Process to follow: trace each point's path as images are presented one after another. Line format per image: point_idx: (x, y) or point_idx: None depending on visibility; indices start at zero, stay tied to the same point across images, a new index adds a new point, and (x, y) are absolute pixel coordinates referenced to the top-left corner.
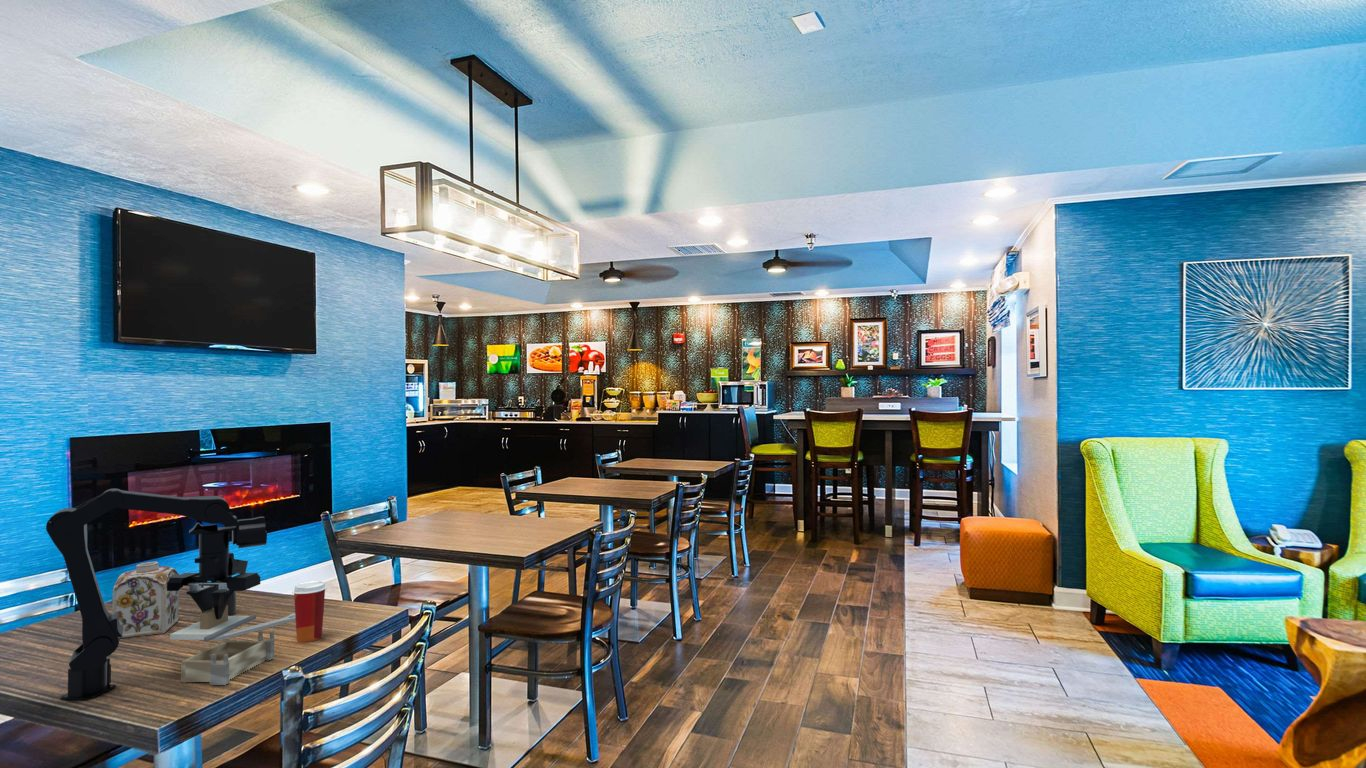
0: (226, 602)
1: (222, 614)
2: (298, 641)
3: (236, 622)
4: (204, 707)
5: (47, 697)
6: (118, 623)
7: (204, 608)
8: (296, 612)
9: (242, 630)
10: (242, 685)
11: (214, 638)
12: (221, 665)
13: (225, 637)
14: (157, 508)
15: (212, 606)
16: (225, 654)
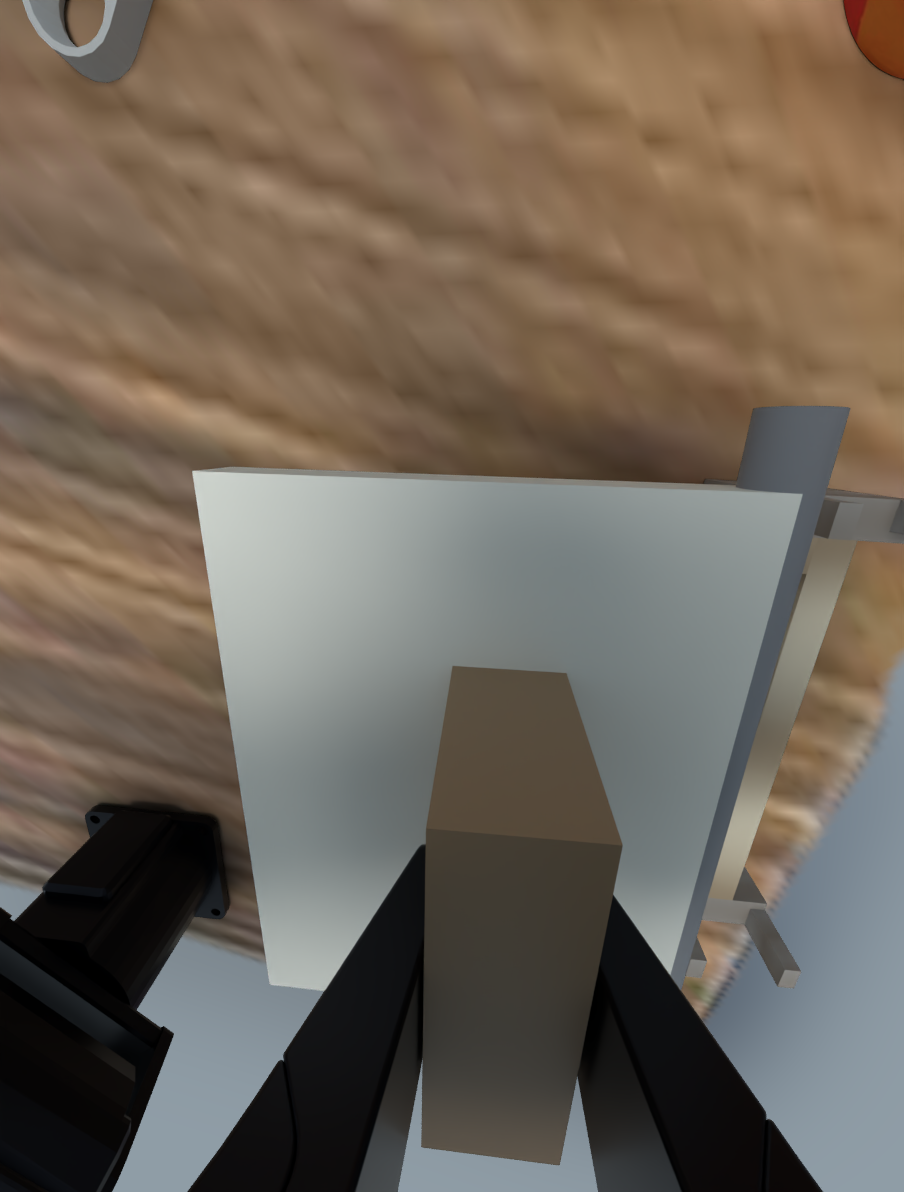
0: (790, 1189)
1: (617, 908)
2: (877, 60)
3: (731, 748)
4: (729, 980)
5: (47, 874)
6: None
7: (403, 1152)
8: None
9: None
10: (786, 824)
11: (69, 61)
12: (731, 919)
13: (132, 6)
14: None
15: (413, 1005)
16: (783, 974)
